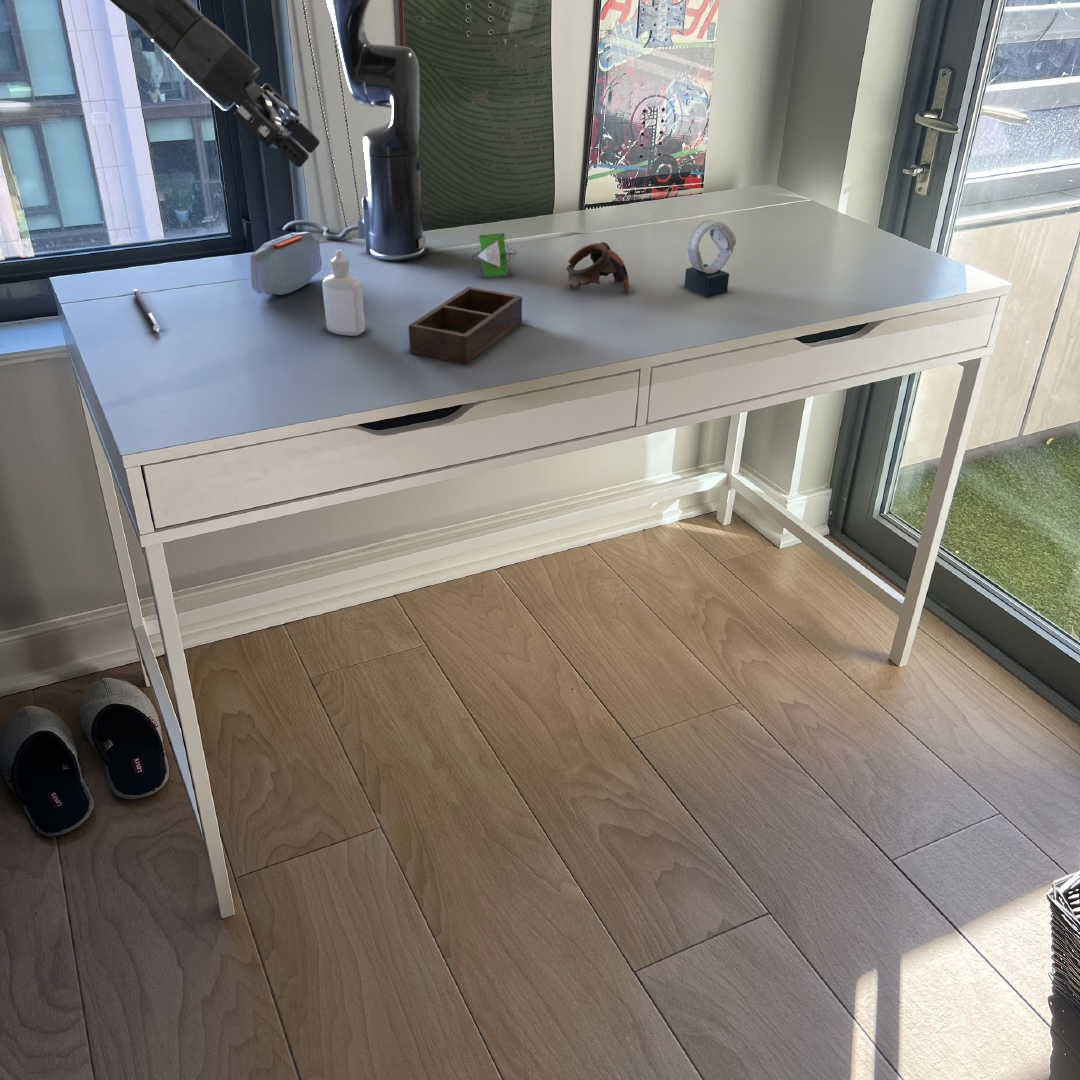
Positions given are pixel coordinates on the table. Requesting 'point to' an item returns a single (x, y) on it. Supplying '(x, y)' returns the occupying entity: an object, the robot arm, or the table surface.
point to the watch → (710, 276)
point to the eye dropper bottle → (343, 299)
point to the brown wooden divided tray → (465, 325)
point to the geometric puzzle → (493, 255)
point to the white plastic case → (285, 263)
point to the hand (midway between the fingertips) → (310, 155)
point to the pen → (146, 310)
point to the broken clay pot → (597, 266)
